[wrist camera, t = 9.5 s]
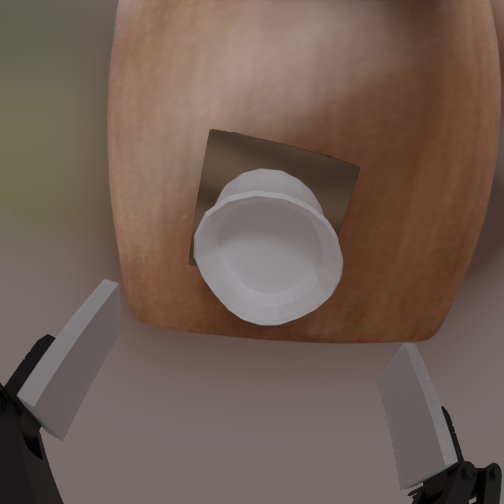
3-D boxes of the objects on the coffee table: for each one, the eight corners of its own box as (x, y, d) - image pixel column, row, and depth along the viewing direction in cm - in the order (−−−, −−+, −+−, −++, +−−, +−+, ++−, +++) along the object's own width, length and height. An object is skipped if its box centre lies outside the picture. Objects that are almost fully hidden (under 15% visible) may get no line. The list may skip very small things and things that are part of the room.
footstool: (224, 127, 29) (209, 129, 23) (341, 157, 30) (360, 167, 23) (204, 235, 36) (188, 263, 29) (308, 260, 36) (315, 292, 30)
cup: (291, 276, 29) (297, 343, 20) (203, 236, 28) (171, 292, 19) (339, 198, 25) (373, 241, 16) (242, 148, 23) (223, 165, 15)
